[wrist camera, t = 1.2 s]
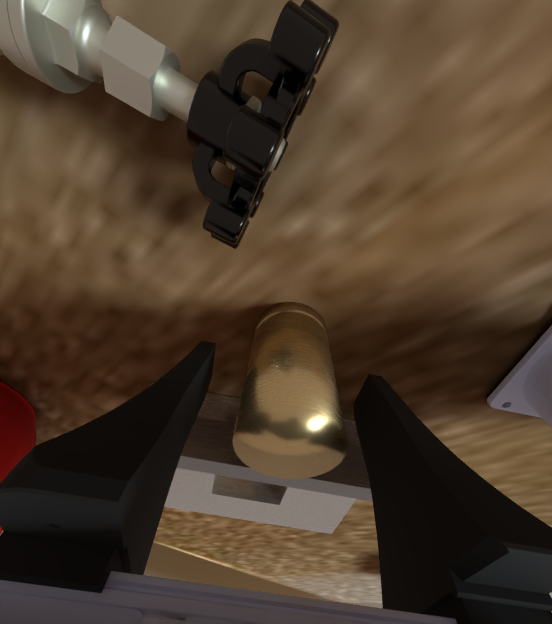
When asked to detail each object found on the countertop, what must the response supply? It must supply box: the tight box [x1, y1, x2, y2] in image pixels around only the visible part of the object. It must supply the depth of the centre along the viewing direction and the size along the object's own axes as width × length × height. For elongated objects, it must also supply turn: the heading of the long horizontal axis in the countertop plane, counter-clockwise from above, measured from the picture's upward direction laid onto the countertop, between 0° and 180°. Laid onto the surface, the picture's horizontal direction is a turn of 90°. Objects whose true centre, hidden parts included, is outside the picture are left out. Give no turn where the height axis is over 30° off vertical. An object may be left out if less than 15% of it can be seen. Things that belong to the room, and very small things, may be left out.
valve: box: [0, 0, 339, 249], centre depth 7 cm, size 7×7×12 cm
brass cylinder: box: [233, 302, 348, 479], centre depth 12 cm, size 4×4×7 cm
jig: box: [149, 382, 373, 534], centre depth 19 cm, size 16×12×4 cm
